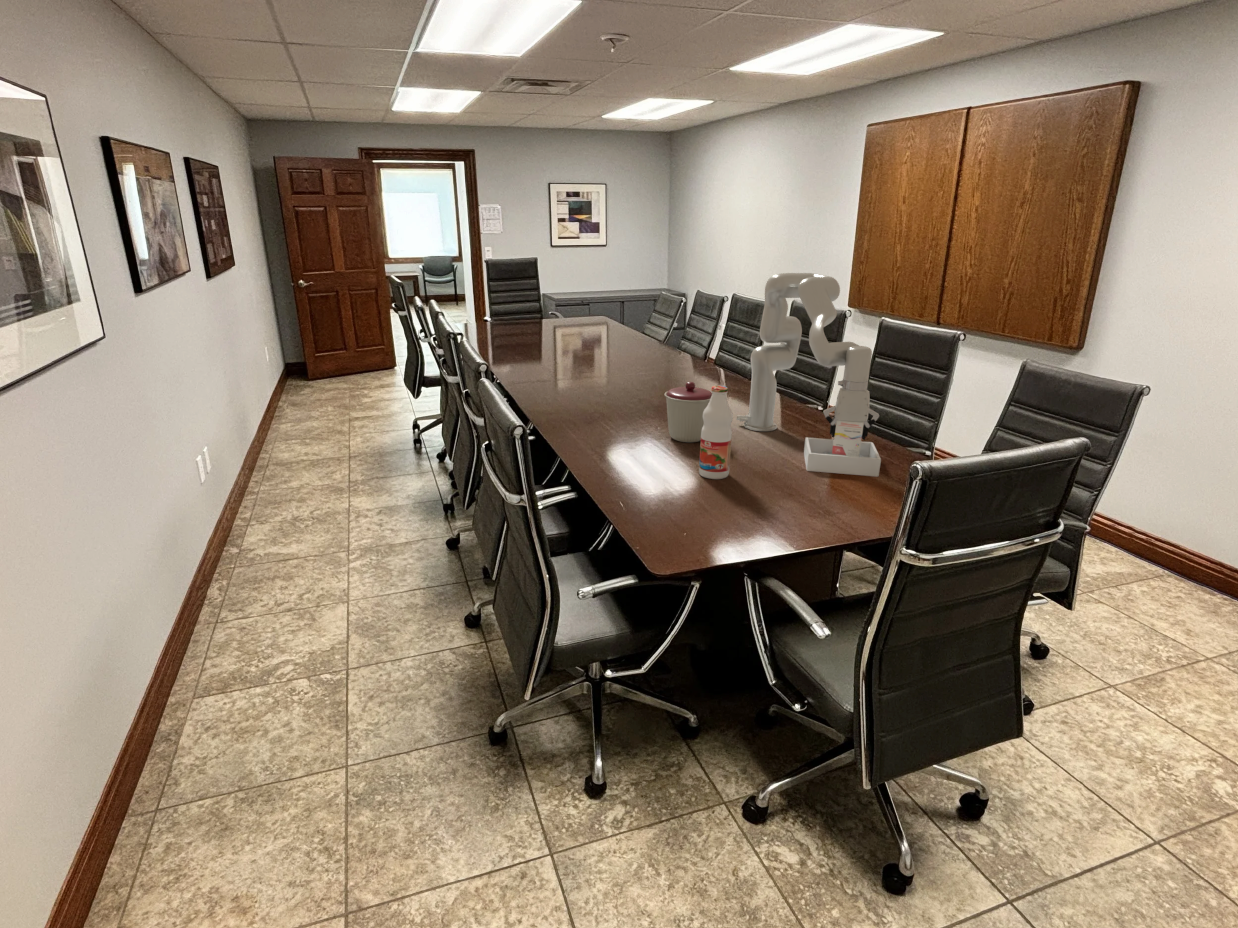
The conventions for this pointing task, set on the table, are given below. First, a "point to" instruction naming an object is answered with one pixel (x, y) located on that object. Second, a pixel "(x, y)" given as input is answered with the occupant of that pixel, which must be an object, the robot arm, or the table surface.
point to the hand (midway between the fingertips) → (847, 437)
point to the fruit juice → (716, 436)
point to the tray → (840, 458)
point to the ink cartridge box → (847, 438)
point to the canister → (686, 411)
